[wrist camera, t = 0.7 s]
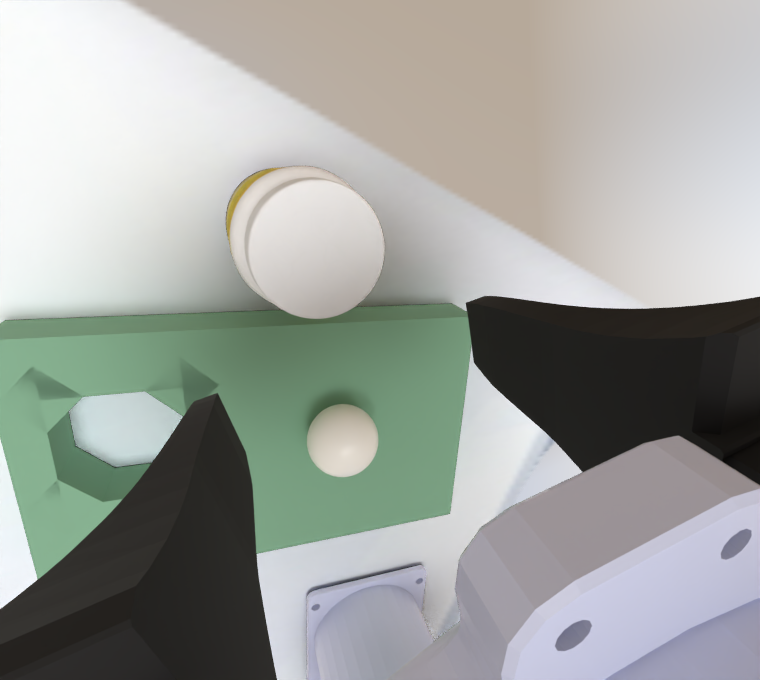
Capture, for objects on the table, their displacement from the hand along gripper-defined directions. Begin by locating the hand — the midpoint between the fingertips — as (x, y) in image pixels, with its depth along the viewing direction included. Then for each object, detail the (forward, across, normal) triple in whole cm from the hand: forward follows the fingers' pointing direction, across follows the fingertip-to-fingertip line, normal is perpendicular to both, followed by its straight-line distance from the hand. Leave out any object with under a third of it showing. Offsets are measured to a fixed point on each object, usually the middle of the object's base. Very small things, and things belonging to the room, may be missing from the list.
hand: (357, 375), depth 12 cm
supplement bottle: (+11, 0, -2) cm, 11 cm away
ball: (+6, +1, +6) cm, 9 cm away
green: (+10, +4, +7) cm, 12 cm away
